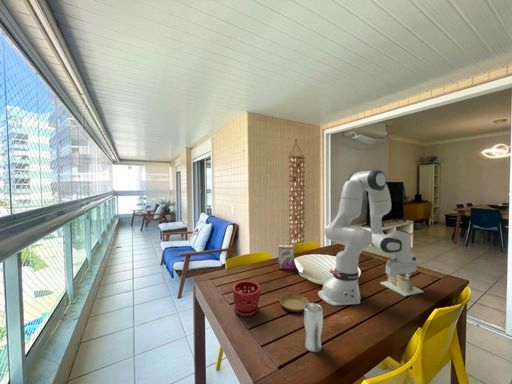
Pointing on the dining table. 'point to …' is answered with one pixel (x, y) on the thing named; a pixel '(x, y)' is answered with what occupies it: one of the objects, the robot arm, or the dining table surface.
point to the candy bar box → (286, 257)
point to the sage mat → (404, 293)
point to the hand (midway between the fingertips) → (400, 280)
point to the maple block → (401, 283)
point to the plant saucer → (293, 302)
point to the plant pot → (246, 298)
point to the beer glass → (313, 326)
